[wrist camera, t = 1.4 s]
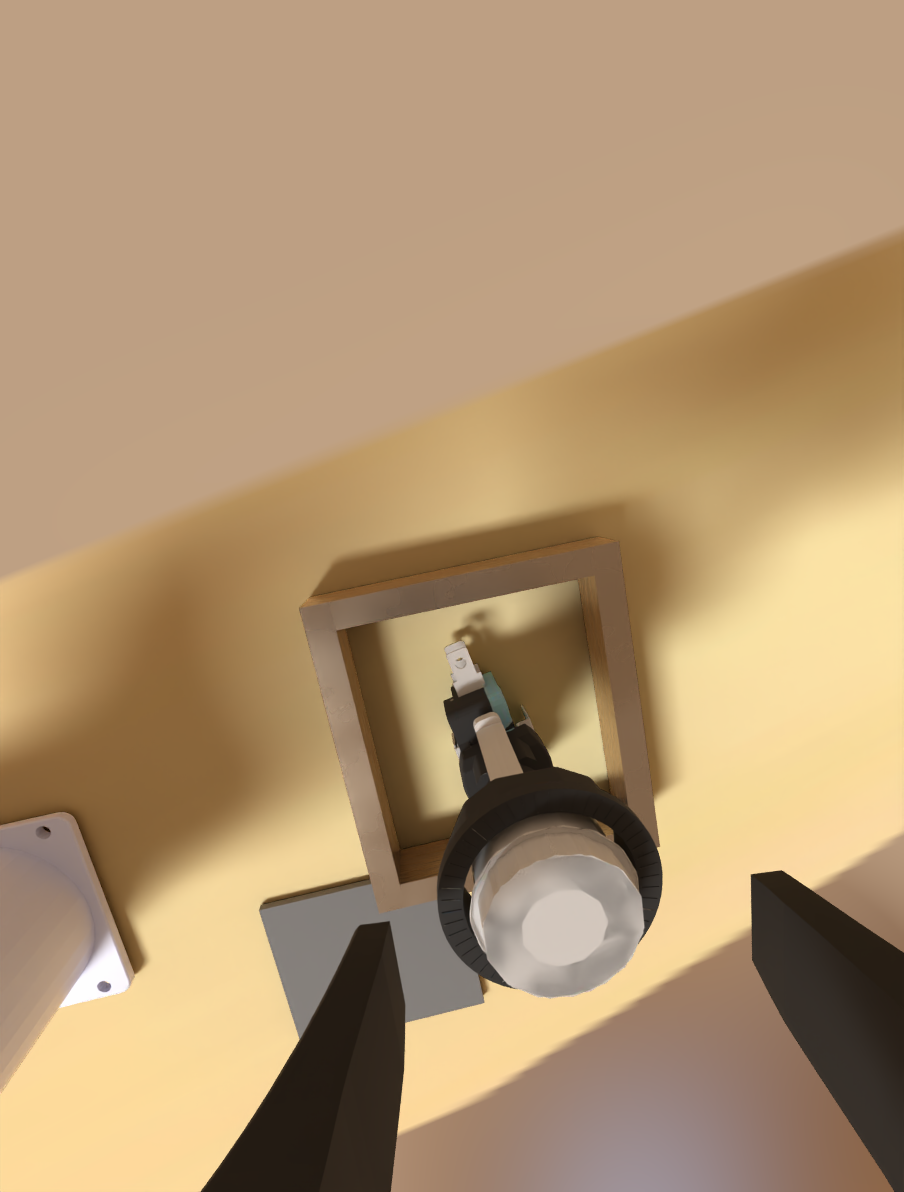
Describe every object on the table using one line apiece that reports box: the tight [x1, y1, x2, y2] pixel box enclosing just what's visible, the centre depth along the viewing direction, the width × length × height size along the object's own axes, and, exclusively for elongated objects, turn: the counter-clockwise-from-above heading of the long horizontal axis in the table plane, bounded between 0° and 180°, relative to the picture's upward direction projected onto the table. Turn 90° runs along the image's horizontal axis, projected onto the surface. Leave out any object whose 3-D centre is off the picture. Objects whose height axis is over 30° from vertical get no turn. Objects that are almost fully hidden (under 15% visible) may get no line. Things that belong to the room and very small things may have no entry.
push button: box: [437, 640, 662, 998], centre depth 16 cm, size 7×5×10 cm
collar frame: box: [299, 537, 660, 914], centre depth 20 cm, size 11×12×2 cm
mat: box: [259, 879, 484, 1039], centre depth 22 cm, size 8×7×1 cm
